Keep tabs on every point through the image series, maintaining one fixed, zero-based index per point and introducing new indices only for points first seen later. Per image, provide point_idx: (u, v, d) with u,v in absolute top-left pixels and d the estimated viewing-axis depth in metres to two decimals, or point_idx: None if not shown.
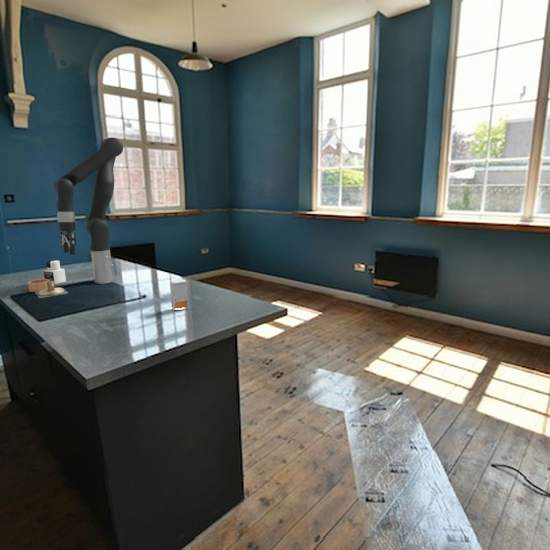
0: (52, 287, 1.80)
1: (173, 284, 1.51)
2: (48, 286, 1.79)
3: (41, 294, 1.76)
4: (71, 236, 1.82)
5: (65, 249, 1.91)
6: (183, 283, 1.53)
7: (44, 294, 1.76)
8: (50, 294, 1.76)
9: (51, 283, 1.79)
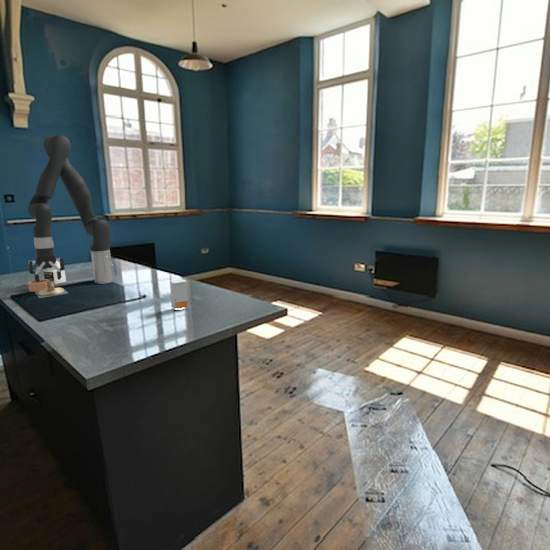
0: (52, 287, 1.80)
1: (173, 284, 1.51)
2: (48, 286, 1.79)
3: (41, 294, 1.76)
4: None
5: (38, 278, 1.76)
6: (183, 283, 1.53)
7: (44, 294, 1.76)
8: (50, 294, 1.76)
9: (51, 283, 1.79)
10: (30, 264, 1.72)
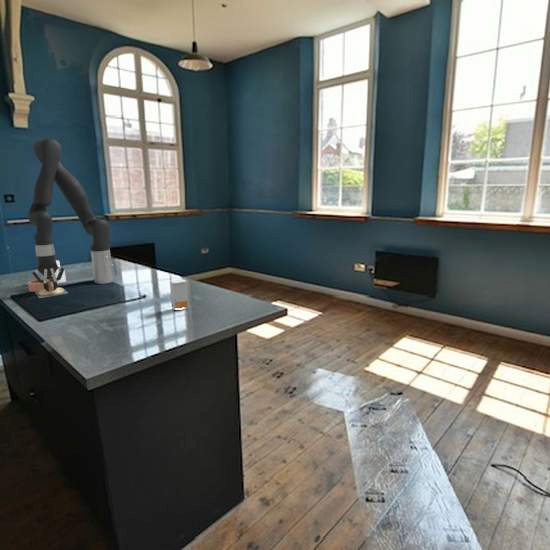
0: (52, 287, 1.80)
1: (173, 284, 1.51)
2: (48, 286, 1.79)
3: (41, 294, 1.76)
4: None
5: (47, 287, 1.79)
6: (183, 283, 1.53)
7: (44, 294, 1.76)
8: (50, 294, 1.76)
9: (51, 283, 1.79)
10: (35, 275, 1.74)
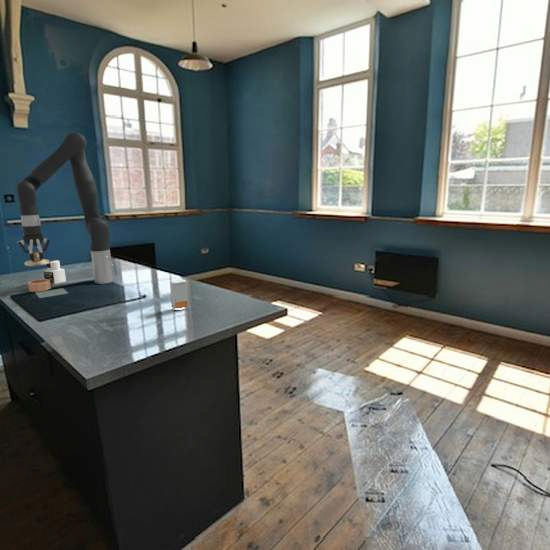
0: (38, 258, 1.82)
1: (173, 284, 1.51)
2: (34, 257, 1.81)
3: (27, 264, 1.78)
4: None
5: None
6: (183, 283, 1.53)
7: (30, 264, 1.78)
8: (36, 264, 1.79)
9: (37, 254, 1.81)
10: (20, 245, 1.77)
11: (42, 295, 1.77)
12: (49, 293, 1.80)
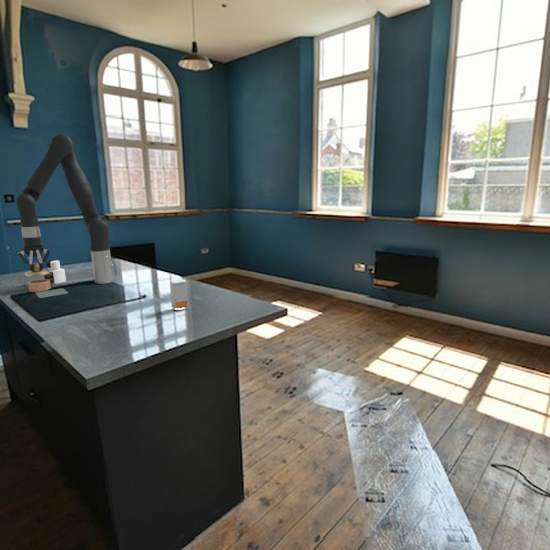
0: (38, 268, 1.85)
1: (173, 284, 1.51)
2: (34, 267, 1.84)
3: (27, 275, 1.81)
4: None
5: None
6: (183, 283, 1.53)
7: (30, 274, 1.81)
8: (36, 275, 1.81)
9: (37, 264, 1.84)
10: (20, 256, 1.79)
11: (42, 295, 1.77)
12: (49, 293, 1.80)
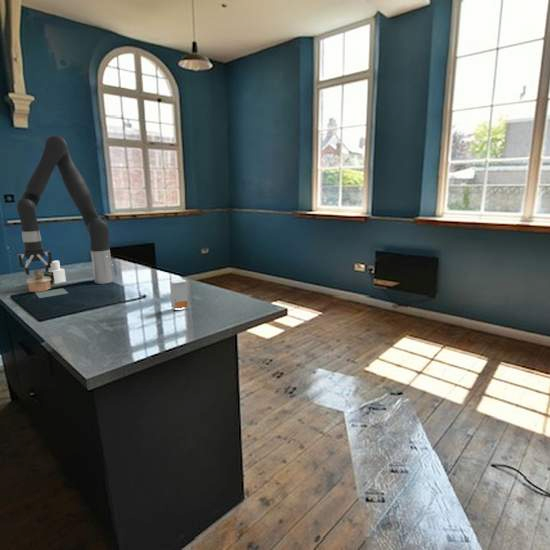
0: (39, 275, 1.86)
1: (173, 284, 1.51)
2: (35, 274, 1.85)
3: (28, 282, 1.82)
4: None
5: (28, 271, 1.83)
6: (183, 283, 1.53)
7: (31, 282, 1.82)
8: (37, 282, 1.82)
9: (38, 271, 1.85)
10: (19, 258, 1.79)
11: (42, 295, 1.77)
12: (49, 293, 1.80)
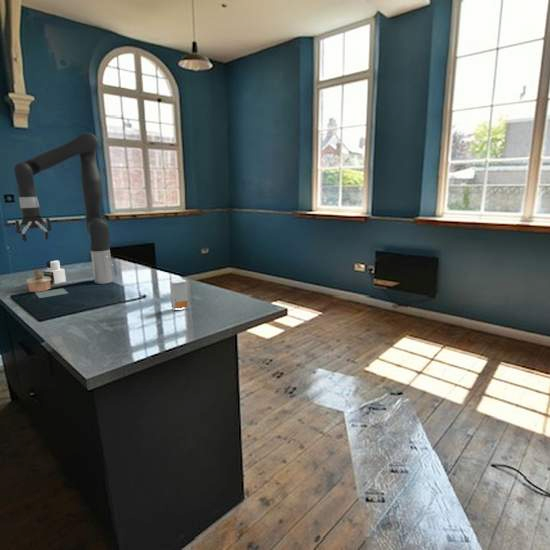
0: (39, 275, 1.86)
1: (173, 284, 1.51)
2: (35, 274, 1.85)
3: (28, 282, 1.82)
4: None
5: None
6: (183, 283, 1.53)
7: (31, 282, 1.82)
8: (37, 282, 1.82)
9: (38, 271, 1.85)
10: (16, 223, 1.76)
11: (42, 295, 1.77)
12: (49, 293, 1.80)
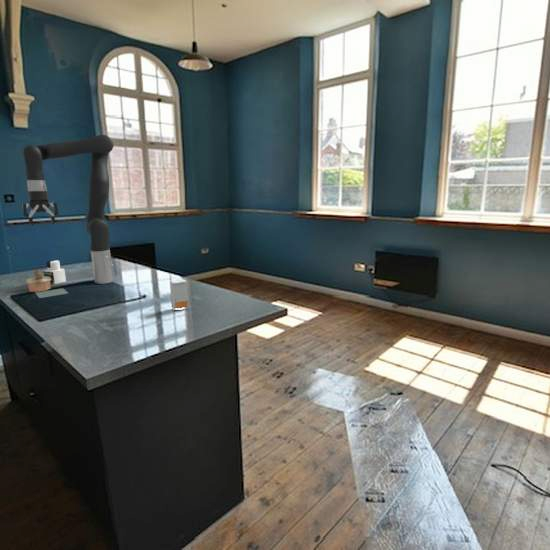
0: (39, 275, 1.86)
1: (173, 284, 1.51)
2: (35, 274, 1.85)
3: (28, 282, 1.82)
4: None
5: (32, 221, 1.79)
6: (183, 283, 1.53)
7: (31, 282, 1.82)
8: (37, 282, 1.82)
9: (38, 271, 1.85)
10: (24, 206, 1.75)
11: (42, 295, 1.77)
12: (49, 293, 1.80)
